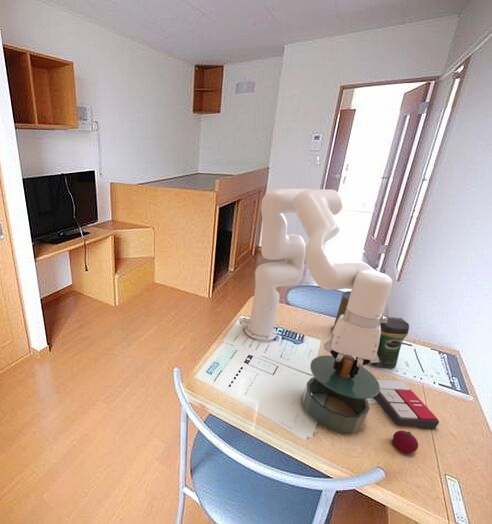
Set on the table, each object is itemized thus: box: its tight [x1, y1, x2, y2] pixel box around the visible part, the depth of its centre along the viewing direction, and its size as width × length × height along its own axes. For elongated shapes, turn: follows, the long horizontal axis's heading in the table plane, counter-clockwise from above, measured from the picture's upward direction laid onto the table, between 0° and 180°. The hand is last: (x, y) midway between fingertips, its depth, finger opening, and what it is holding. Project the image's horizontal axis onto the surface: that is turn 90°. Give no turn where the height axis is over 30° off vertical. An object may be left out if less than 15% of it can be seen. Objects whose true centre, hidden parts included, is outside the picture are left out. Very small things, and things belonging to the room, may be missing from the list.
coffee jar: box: [368, 316, 410, 369], centre depth 108 cm, size 10×8×19 cm
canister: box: [331, 290, 352, 331], centre depth 125 cm, size 11×10×20 cm
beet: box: [392, 430, 419, 455], centre depth 80 cm, size 5×5×6 cm
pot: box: [302, 376, 370, 435], centre depth 90 cm, size 16×16×6 cm
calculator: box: [373, 378, 440, 430], centre depth 92 cm, size 11×4×15 cm
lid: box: [309, 354, 380, 400], centre depth 85 cm, size 17×17×7 cm
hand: (344, 372), depth 86 cm, fingers closed on lid, 2 cm apart
